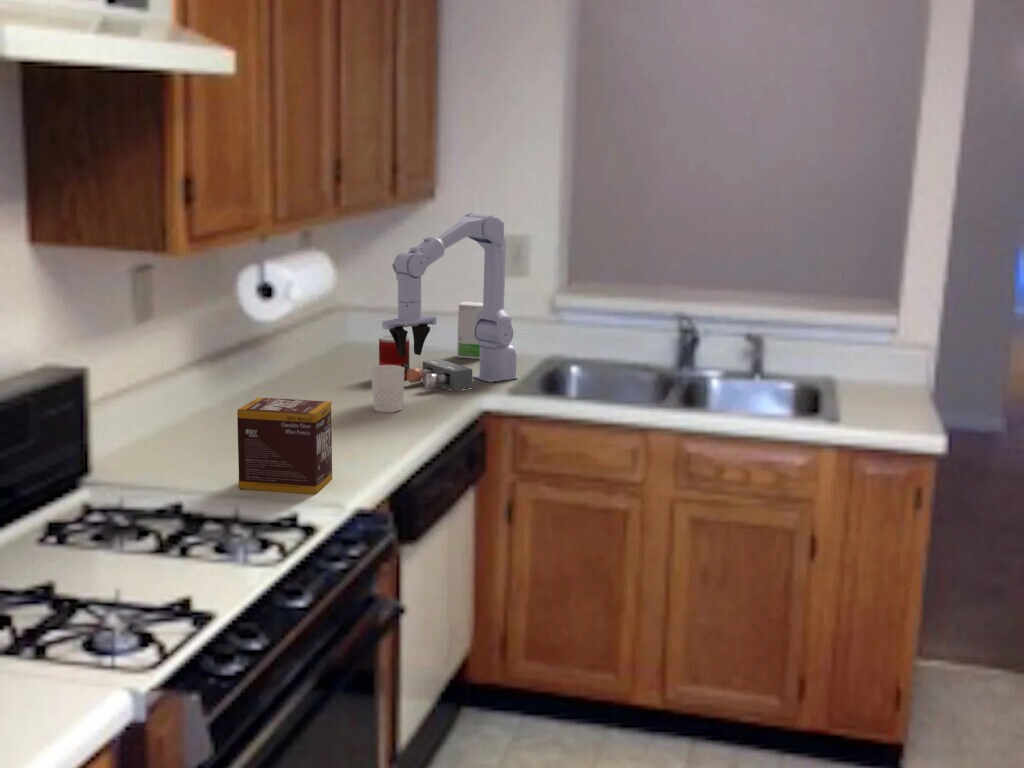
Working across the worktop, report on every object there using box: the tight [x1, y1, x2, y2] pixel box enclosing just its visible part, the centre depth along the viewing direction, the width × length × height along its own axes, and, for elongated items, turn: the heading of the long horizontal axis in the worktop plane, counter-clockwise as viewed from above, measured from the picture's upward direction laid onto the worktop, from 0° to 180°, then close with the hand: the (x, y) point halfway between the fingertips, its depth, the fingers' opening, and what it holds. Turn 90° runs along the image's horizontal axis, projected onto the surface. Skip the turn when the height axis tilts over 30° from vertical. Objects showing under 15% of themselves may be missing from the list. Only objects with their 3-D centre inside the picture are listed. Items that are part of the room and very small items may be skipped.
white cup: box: [370, 365, 405, 413], centre depth 301 cm, size 8×8×10 cm
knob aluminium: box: [422, 373, 450, 389], centre depth 323 cm, size 8×4×4 cm, turn 126°
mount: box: [422, 359, 473, 392], centre depth 329 cm, size 6×15×5 cm, turn 36°
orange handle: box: [406, 367, 433, 384], centre depth 329 cm, size 8×4×4 cm, turn 126°
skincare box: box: [456, 301, 483, 360], centre depth 365 cm, size 8×7×16 cm
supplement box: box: [236, 397, 333, 495], centre depth 240 cm, size 10×15×16 cm
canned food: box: [378, 334, 410, 381], centre depth 335 cm, size 8×8×11 cm
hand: (409, 355), depth 316 cm, fingers open, 4 cm apart
